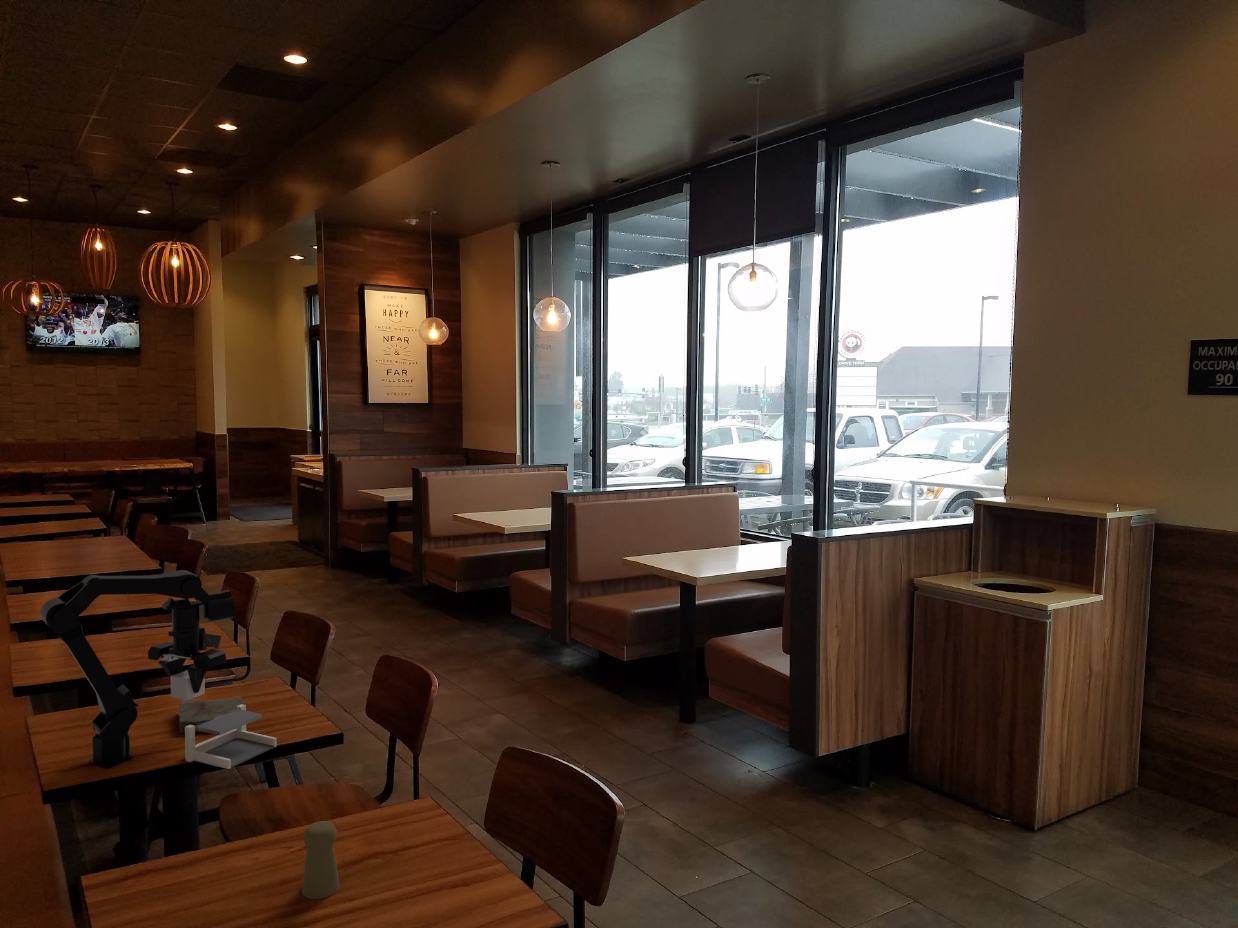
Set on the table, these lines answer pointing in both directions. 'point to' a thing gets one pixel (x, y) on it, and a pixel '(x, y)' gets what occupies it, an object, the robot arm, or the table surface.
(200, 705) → the marble piece
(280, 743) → the table surface
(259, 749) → the frame
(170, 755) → the table surface
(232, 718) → the trapdoor
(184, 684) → the light grey cube
